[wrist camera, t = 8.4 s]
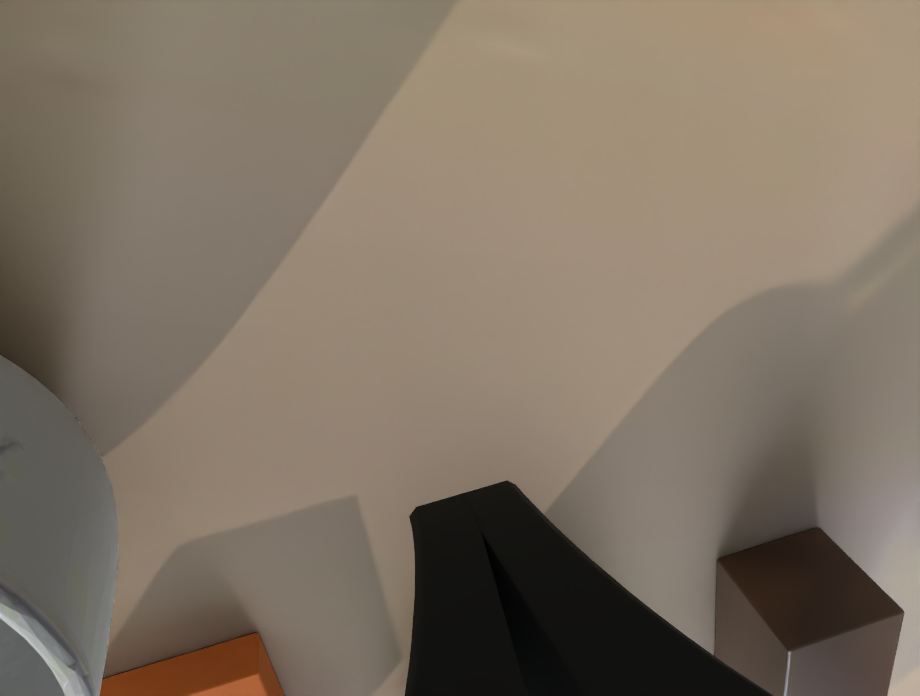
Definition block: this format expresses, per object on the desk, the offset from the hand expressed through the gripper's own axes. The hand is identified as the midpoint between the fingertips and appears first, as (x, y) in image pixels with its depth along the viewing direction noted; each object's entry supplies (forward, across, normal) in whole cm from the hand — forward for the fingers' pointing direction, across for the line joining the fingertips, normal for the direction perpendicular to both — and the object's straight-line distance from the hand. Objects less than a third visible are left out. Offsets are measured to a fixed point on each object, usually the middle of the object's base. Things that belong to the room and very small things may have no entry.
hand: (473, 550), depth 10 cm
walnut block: (+9, -11, +17) cm, 23 cm away
